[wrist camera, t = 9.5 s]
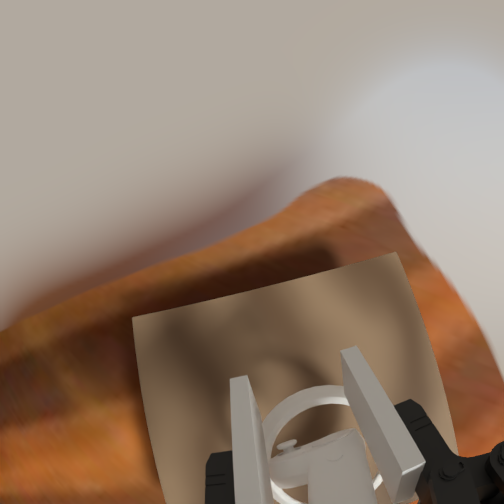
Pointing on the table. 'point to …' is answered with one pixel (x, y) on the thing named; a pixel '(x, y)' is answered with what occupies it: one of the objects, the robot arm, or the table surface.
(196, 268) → the table surface
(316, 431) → the small wooden table
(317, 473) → the white ring with handle
